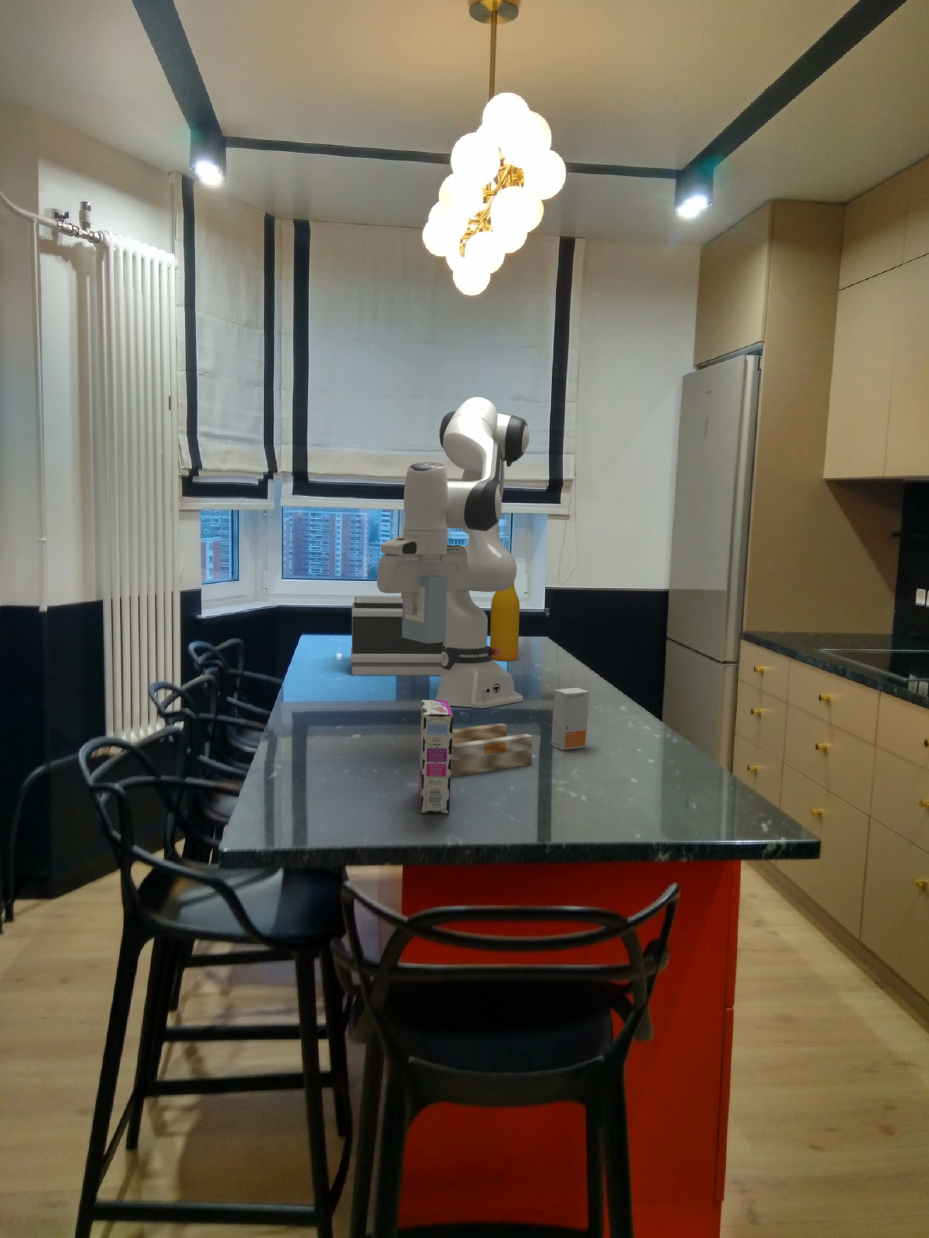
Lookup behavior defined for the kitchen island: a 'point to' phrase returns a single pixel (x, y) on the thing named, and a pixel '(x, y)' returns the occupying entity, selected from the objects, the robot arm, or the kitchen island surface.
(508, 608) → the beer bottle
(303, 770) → the kitchen island surface
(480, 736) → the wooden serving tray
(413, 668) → the toaster
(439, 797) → the candy bar box
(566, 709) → the skincare box
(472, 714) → the kitchen island surface
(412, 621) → the box
